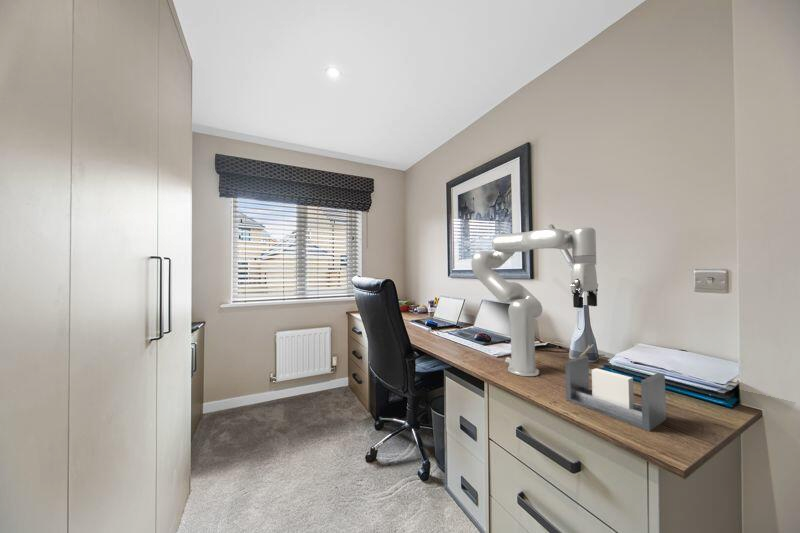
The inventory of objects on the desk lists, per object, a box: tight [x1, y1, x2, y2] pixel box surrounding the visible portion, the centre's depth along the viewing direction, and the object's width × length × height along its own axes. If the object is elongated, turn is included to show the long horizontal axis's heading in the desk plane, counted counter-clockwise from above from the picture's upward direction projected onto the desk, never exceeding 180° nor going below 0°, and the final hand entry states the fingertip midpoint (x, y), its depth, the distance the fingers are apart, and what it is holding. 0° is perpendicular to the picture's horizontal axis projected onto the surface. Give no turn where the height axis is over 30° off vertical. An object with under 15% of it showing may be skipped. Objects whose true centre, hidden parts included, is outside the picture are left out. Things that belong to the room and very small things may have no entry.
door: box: [591, 367, 635, 409], centre depth 88 cm, size 10×3×10 cm, turn 30°
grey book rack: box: [564, 355, 667, 432], centre depth 88 cm, size 22×12×13 cm, turn 30°
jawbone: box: [578, 344, 595, 376], centre depth 121 cm, size 14×8×15 cm
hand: (585, 306), depth 104 cm, fingers open, 9 cm apart
